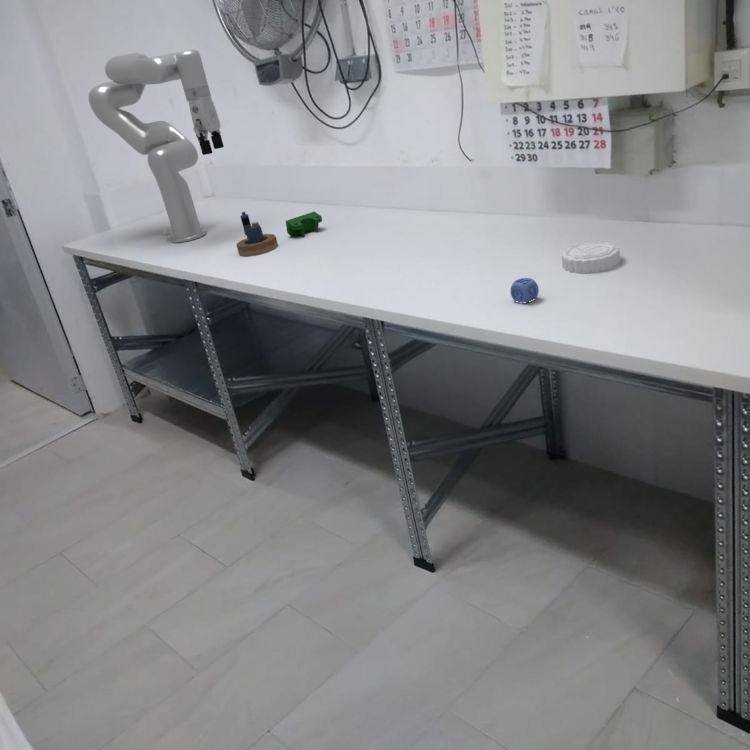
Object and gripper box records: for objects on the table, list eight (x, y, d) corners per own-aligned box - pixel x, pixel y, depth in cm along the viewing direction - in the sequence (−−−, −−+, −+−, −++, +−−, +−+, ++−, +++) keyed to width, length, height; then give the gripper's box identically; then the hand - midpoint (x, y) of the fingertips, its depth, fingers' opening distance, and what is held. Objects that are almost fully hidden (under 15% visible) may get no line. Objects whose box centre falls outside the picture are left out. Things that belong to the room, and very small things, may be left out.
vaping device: (249, 251, 225) (238, 212, 220) (265, 246, 226) (255, 208, 221) (250, 252, 223) (239, 214, 218) (267, 248, 224) (257, 209, 219)
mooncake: (630, 265, 154) (630, 248, 153) (577, 279, 153) (576, 262, 152) (603, 251, 165) (602, 236, 164) (553, 264, 164) (552, 248, 162)
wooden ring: (233, 258, 221) (231, 248, 219) (246, 246, 231) (244, 237, 230) (270, 253, 218) (268, 243, 217) (282, 241, 228) (279, 232, 227)
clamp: (302, 249, 231) (290, 230, 225) (293, 243, 235) (281, 224, 229) (329, 227, 233) (317, 207, 226) (320, 221, 236) (308, 201, 230)
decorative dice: (524, 295, 150) (522, 276, 148) (539, 298, 147) (538, 279, 145) (511, 301, 148) (509, 283, 146) (526, 305, 145) (524, 286, 143)
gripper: (198, 95, 217) (214, 154, 224) (219, 88, 232) (233, 144, 239) (175, 100, 218) (191, 158, 226) (197, 93, 234) (212, 147, 241)
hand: (213, 151), depth 232 cm, fingers open, 9 cm apart
